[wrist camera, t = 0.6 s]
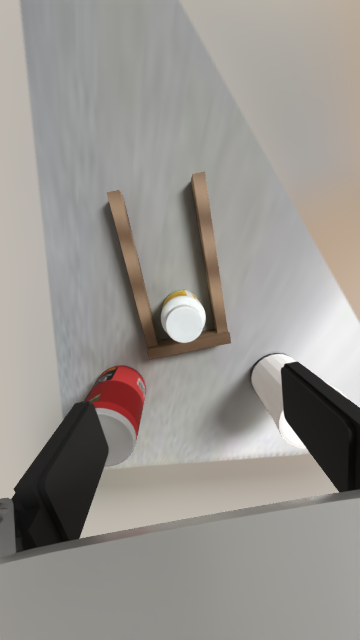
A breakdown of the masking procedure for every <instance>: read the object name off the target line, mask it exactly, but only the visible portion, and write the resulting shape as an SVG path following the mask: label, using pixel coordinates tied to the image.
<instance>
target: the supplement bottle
mask: <svg viewBox="0 0 360 640" xmlns="http://www.w3.org/2000/svg"><path fill="white" fill-rule="evenodd" d="M205 320H206V315H205V311H204V308H203V306H202V305H201V303H200V302H199V300H198V299H197V298H196V296H195V295H194V294H192V293H191V292H189V291H186V290H177V291H174V292H172V293H171V294H169V295H168V296H167V298H166V299H165V301H164V305H163V309H162V313H161V323H162V326H163V328H164V330H165V331H166V333H167V334H168V335H169V336H170V337H171V338H172V339H173V340H175V341H177V342H181V343H187V342H191V341H193V340H195V339H196V338H197V337H198V336H199V335H200V334H201V332H202V329H203V327H204V325H205Z"/></svg>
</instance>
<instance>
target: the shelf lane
mask: <svg viewBox="0 0 360 640" xmlns="http://www.w3.org/2000/svg"><path fill="white" fill-rule="evenodd" d="M191 185H192V191H193V197H194V204H195V210H196V216H197V222H198V228H199V234H200V241H201V247H202V253H203V259H204V265H205V272H206V278H207V284H208V290H209V296H210V302H211V309H212V315H213V321H214V327H215V329H212V330H207V331H202V332H201V334H200V335H199V336H198V337H197V338H196V339H195V340H193V341H191V342H187V343H181V342H177V341H175V340H173V339H172V338H168V339H163V340H158V337H157V333H156V328H155V324H154V320H153V316H152V312H151V308H150V304H149V300H148V296H147V292H146V288H145V284H144V280H143V276H142V272H141V267H140V263H139V259H138V255H137V251H136V247H135V243H134V239H133V235H132V231H131V227H130V223H129V219H128V215H127V211H126V206H125V202H124V198H123V195H122V194H121V192H120V191H119V190H117V191H112V192H108V193H107V195H108V199H109V203H110V207H111V211H112V214H113V218H114V222H115V226H116V229H117V233H118V237H119V241H120V245H121V248H122V252H123V256H124V260H125V264H126V267H127V271H128V275H129V279H130V282H131V286H132V290H133V294H134V298H135V301H136V305H137V309H138V313H139V317H140V320H141V324H142V328H143V332H144V336H145V339H146V343H147V347H148V348H147V353H148V356H149V360H150V359H154V358H159V357H164V356H169V355H174V354H179V353H184V352H189V351H194V350H199V349H204V348H209V347H214V346H219V345H224V344H229V343H231V340H230V333H229V332H228V330H227V323H226V316H225V309H224V302H223V295H222V288H221V281H220V274H219V267H218V260H217V253H216V247H215V240H214V233H213V226H212V219H211V212H210V205H209V198H208V191H207V184H206V177H205V172H201V173H196V174H192V178H191Z"/></svg>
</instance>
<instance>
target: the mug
mask: <svg viewBox="0 0 360 640" xmlns="http://www.w3.org/2000/svg"><path fill="white" fill-rule="evenodd" d="M291 362H296V361H295V360H294V359H292V358H291V357H290V356H288V355H285V354H281V353H274V354H269V355H267V356H264V357H263V358H261V359H260V360H259V361H258V362H257V363H256V364H255V365H254V367H253V369H252V372H251V383H252V386H253V388H254V389H255V391H256V392H257V394H258V396H259V397H260V399H261V400H262V402H263V404H264V405H265V407H266V408H267V410H268V412H269V413H270V415H271V416H272V418H273V420H274V422H275V424H276V426H277V428H278V430H279V432H280V434H281V435H282V437H283V438H284V439H285V440H286V441H287V442H288V443H289V444H291V445H293V446H295V447H298V448H303V449H307V448H306V447H305V445H304V444H303V443H302V441H301V440H300V439H299V437H298V436H297V435H296V433H295V432H294V431H293V429H292V428H291V427H290V425H289V424H288V423H287V421H286V419H285V417H284V411H283V397H282V382H281V368H282V367H284V364H286V363H291ZM324 382H325V381H324ZM326 383H327V382H326ZM327 384H328V383H327ZM328 385H330V384H328ZM330 386H331V387H332V388H334V389H335V390H336V391H338V392H339V393H340V394H342V395H343V396H344V397H346V398H347V396H346V395H345V394H344V393H342V392H341V391H339V390H338V389H337V388H335V387H333V386H332V385H330ZM347 399H348V398H347Z"/></svg>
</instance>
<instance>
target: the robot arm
mask: <svg viewBox="0 0 360 640" xmlns="http://www.w3.org/2000/svg"><path fill="white" fill-rule="evenodd" d="M281 382H282V397H283V411H284V417H285V419H286V421H287V423H288V424H289V425H290V427H291V428H292V429H293V431H294V432H295V433H296V435H297V436H298V437H299V439H300V440H301V441H302V443H303V444H304V445H305V447H306V448H307V449H308V451H309V452H310V454H311V455H312V456H313V457H314V459H315V460H316V462H317V463H318V464H319V466H320V467H321V468H322V470H323V471H324V472H325V474H326V475H327V476H328V478H329V479H330V480H331V482H332V483H333V484H334V486H335V487H336V488H337V490H338V491H339V492H340V493H333V494H327V495H321V496H314V497H309V498H303V499H296V500H291V501H286V502H279V503H273V504H268V505H262V506H256V507H251V508H245V509H239V510H233V511H228V512H222V513H217V514H211V515H205V516H200V517H194V518H189V519H183V520H178V521H172V522H168V523H161V524H156V525H150V526H145V527H140V528H134V529H129V530H123V531H118V532H113V533H107V534H102V535H97V536H91V537H86V538H81V539H79V538H80V535H81V532H82V529H83V526H84V523H85V520H86V518H87V515H88V512H89V509H90V506H91V503H92V500H93V497H94V494H95V492H96V488H97V486H98V483H99V480H100V477H101V474H102V471H103V468H104V466H105V463H106V460H107V457H108V453H109V447H108V443H107V441H106V438H105V435H104V432H103V429H102V426H101V423H100V420H99V418H98V415H97V412H96V409H95V406H94V404H93V403H90V402H89V401H85V402H79V403H76V404H75V405H74V406H73V407H72V409H71V410H70V412H69V413H68V414H67V416H66V417H65V419H64V420H63V421H62V423H61V424H60V425H59V427H58V428H57V430H56V431H55V432H54V434H53V435H52V437H51V438H50V439H49V441H48V442H47V443H46V445H45V446H44V448H43V449H42V451H41V452H40V453H39V455H38V456H37V457H36V459H35V460H34V461H33V463H32V464H31V466H30V467H29V469H28V470H27V471H26V473H25V474H24V475H23V477H22V478H21V479H20V481H19V483H18V484H17V485H16V487H15V488H14V491H15V494H14V496H13V498H12V499H9V498H2V499H0V640H360V408H359V407H358V406H357V405H355V404H354V403H353V402H351V401H350V400H349V399H347V398H346V397H344V396H343V395H342V394H340V393H339V392H338V391H336V390H335V389H334V388H332V387H331V386H330V385H328V384H327V383H326V382H324V381H323V380H322V379H320V378H319V377H318V376H316V375H315V374H314V373H312V372H311V371H310V370H308V369H307V368H306V367H304V366H303V365H301V364H300V363H299V362H291V363H286V364H284V367H282V368H281Z"/></svg>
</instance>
